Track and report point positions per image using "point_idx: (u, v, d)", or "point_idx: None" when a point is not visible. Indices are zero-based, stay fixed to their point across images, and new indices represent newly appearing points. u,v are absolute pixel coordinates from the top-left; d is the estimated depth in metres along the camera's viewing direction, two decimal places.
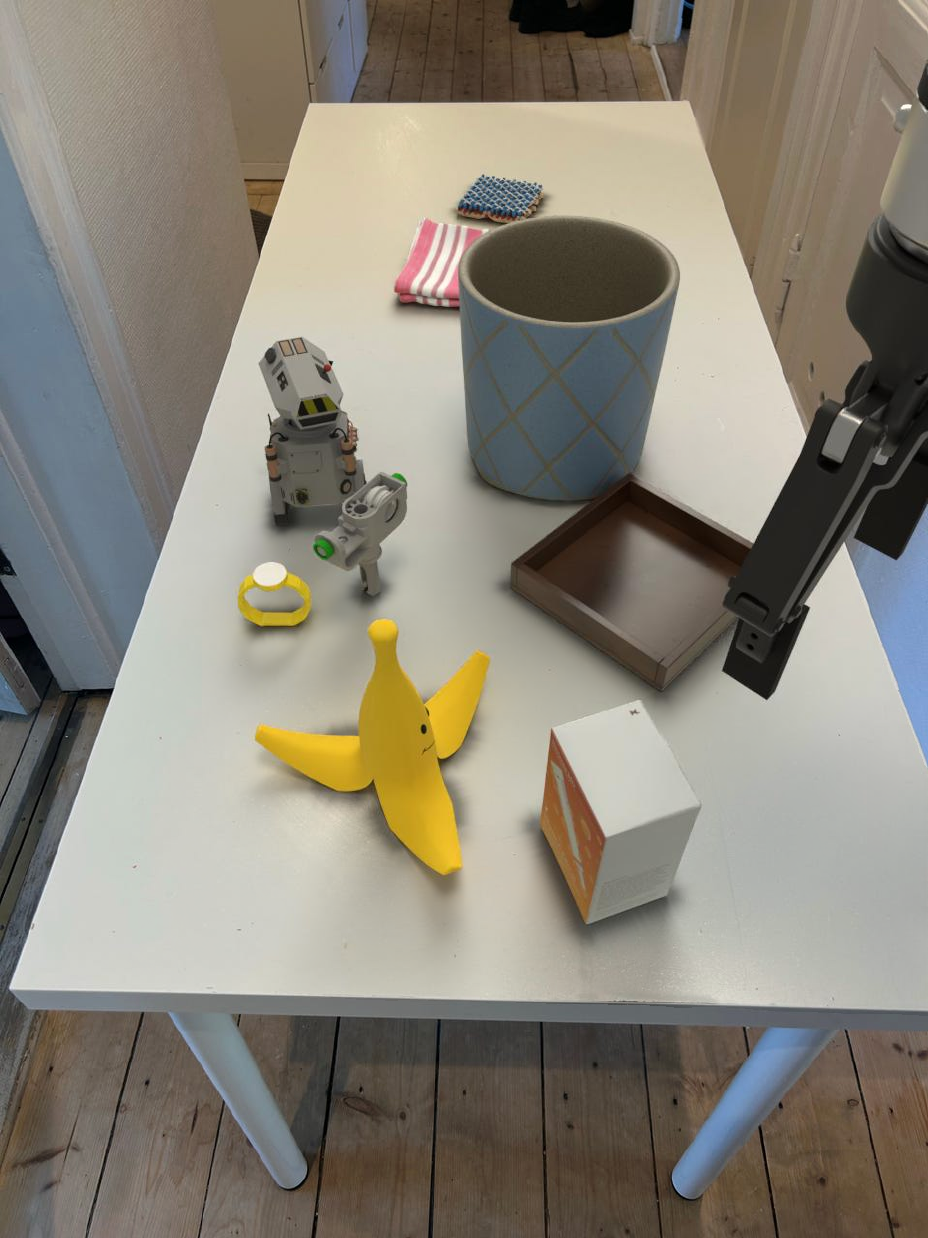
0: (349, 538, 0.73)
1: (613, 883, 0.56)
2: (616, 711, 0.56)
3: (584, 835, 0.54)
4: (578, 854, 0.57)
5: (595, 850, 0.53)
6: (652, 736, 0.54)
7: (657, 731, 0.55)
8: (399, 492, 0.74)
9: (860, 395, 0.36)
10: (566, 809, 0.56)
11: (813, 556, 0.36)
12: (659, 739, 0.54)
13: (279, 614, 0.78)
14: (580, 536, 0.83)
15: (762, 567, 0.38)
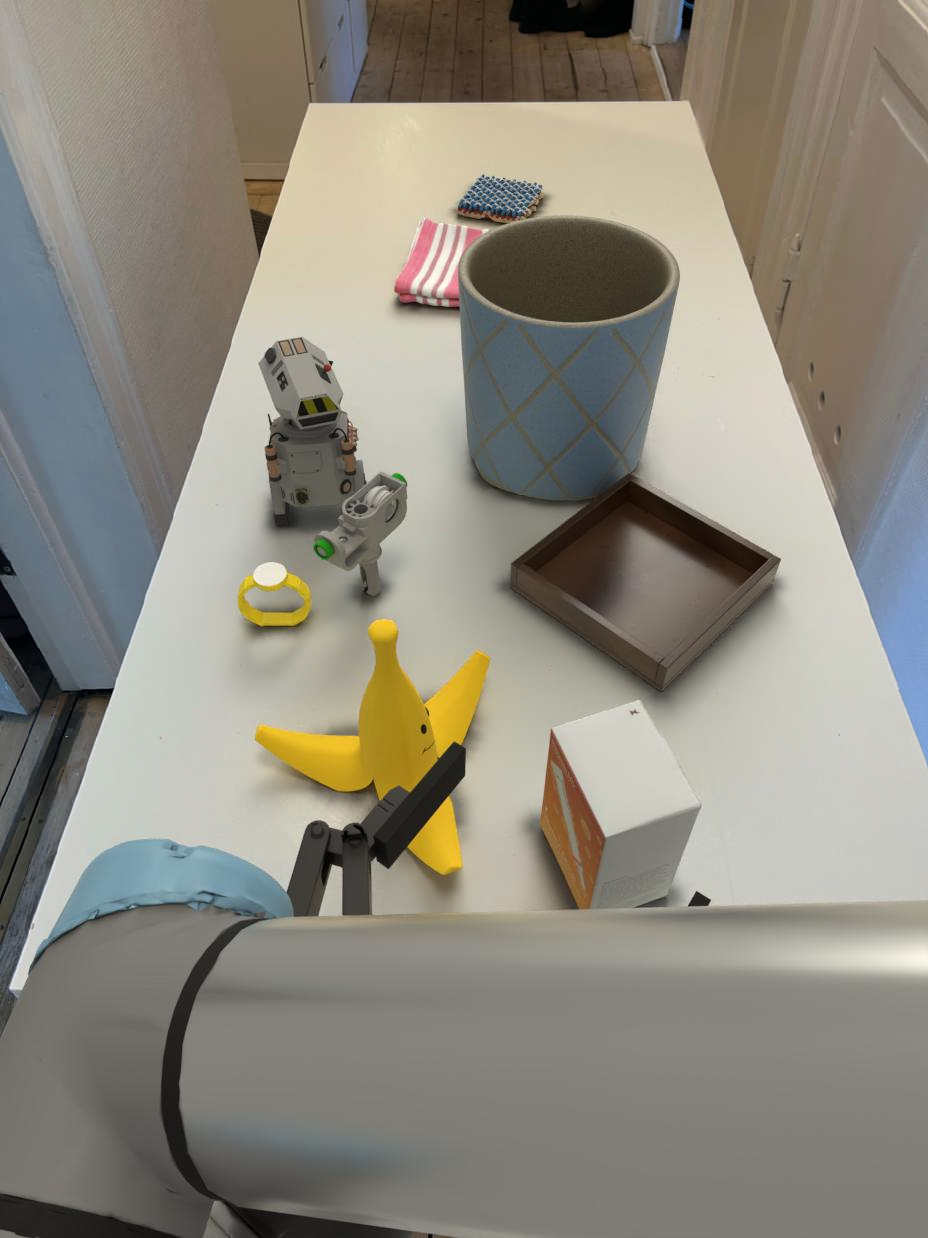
0: (349, 538, 0.73)
1: (613, 883, 0.56)
2: (616, 711, 0.56)
3: (584, 835, 0.54)
4: (578, 854, 0.57)
5: (595, 850, 0.53)
6: (652, 736, 0.54)
7: (657, 731, 0.55)
8: (399, 492, 0.74)
9: None
10: (566, 809, 0.56)
11: None
12: (659, 739, 0.54)
13: (279, 614, 0.78)
14: (580, 536, 0.83)
15: None
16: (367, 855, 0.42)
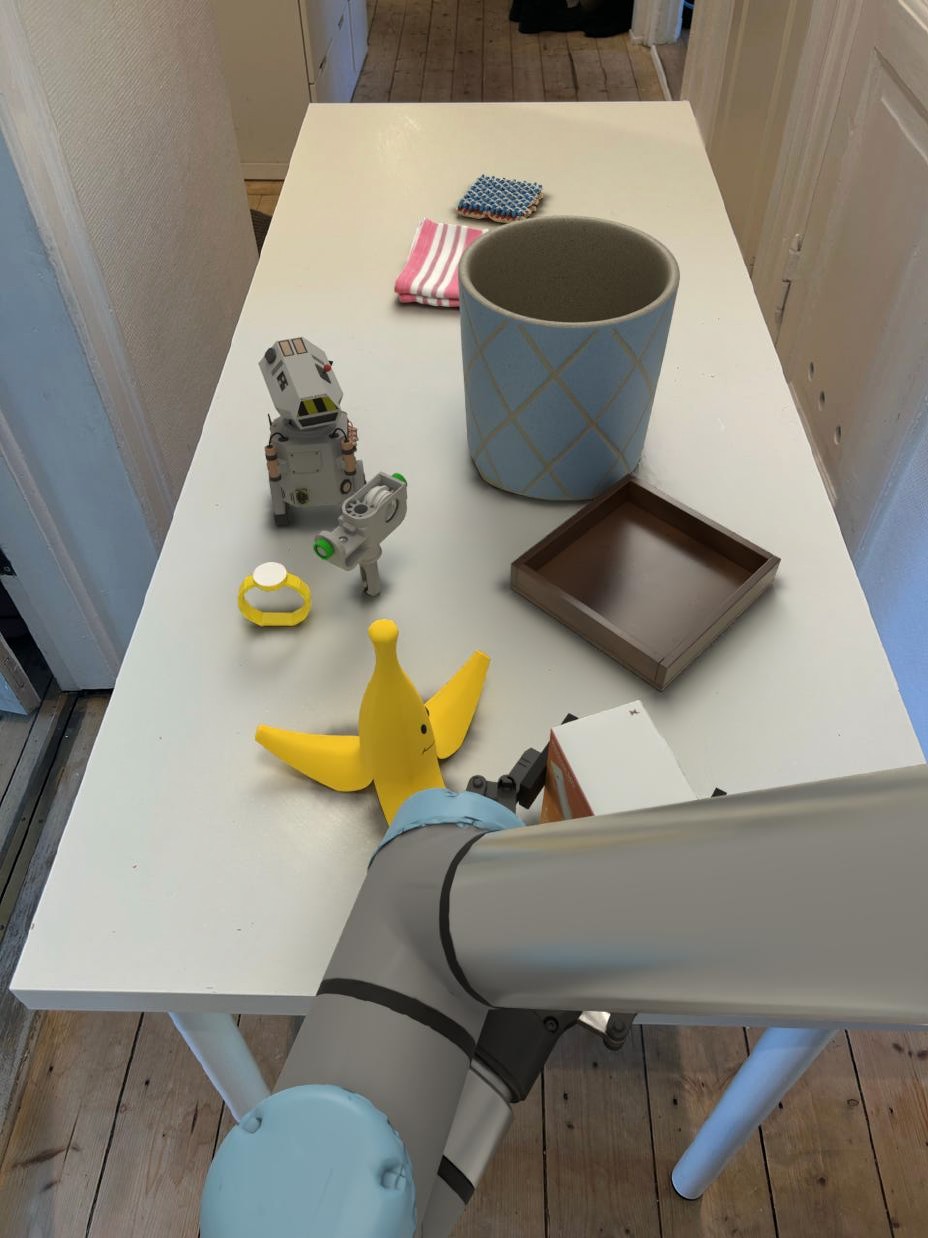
0: (349, 538, 0.73)
1: None
2: (616, 711, 0.56)
3: None
4: None
5: None
6: (652, 736, 0.54)
7: (657, 731, 0.55)
8: (399, 492, 0.74)
9: (575, 1024, 0.50)
10: (566, 809, 0.56)
11: None
12: (659, 739, 0.54)
13: (279, 614, 0.78)
14: (580, 536, 0.83)
15: None
16: (515, 799, 0.57)
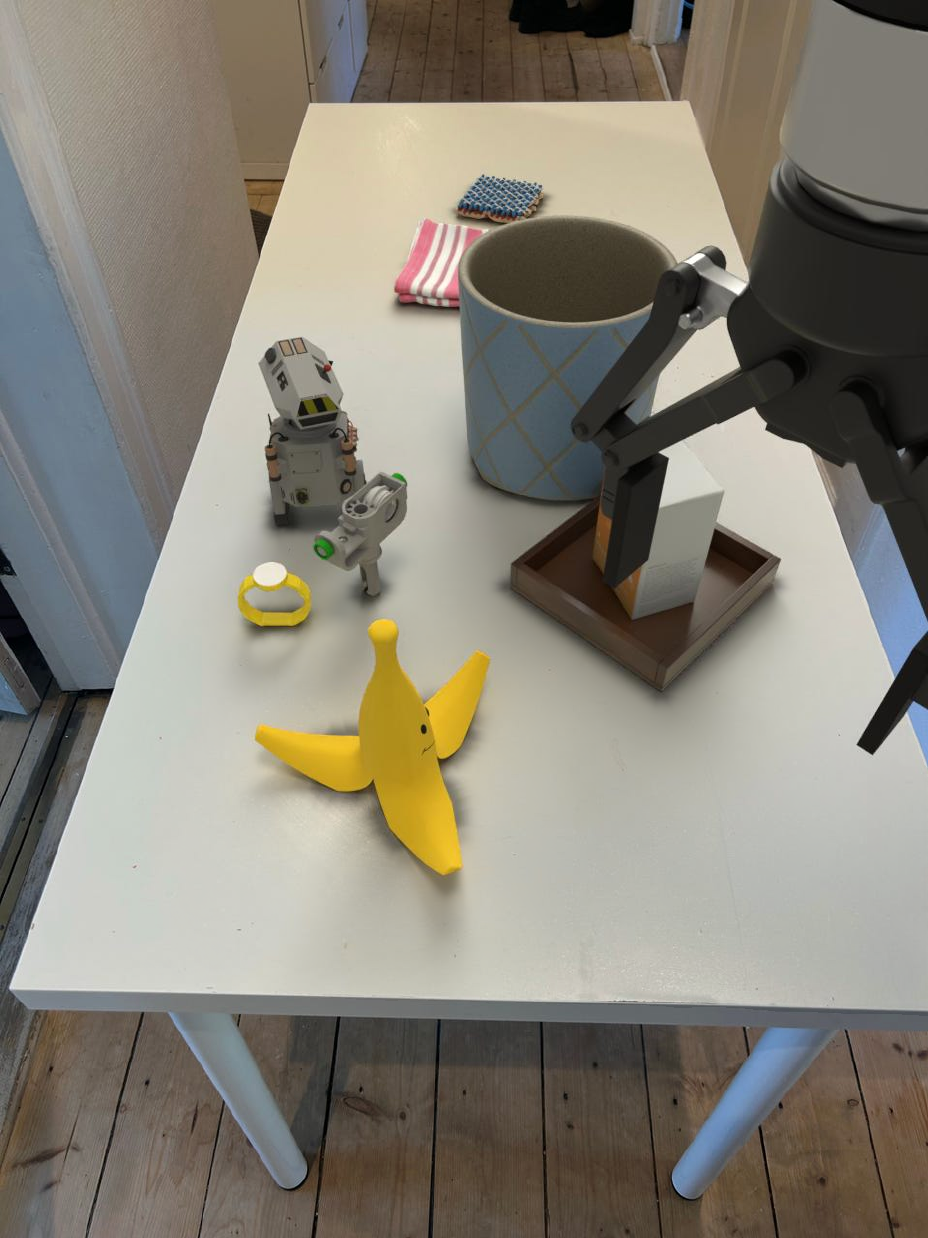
0: (349, 538, 0.73)
1: (655, 569, 0.72)
2: None
3: None
4: None
5: None
6: (685, 451, 0.71)
7: (689, 448, 0.71)
8: (399, 492, 0.74)
9: None
10: None
11: (609, 374, 0.36)
12: (691, 453, 0.71)
13: (279, 614, 0.78)
14: (580, 536, 0.83)
15: None
16: None
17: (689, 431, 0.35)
